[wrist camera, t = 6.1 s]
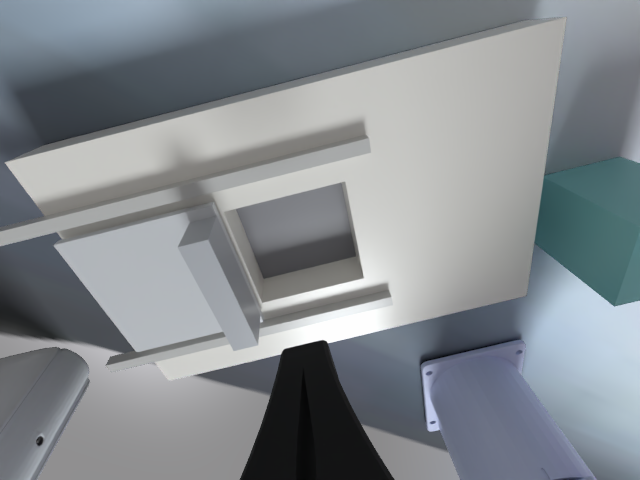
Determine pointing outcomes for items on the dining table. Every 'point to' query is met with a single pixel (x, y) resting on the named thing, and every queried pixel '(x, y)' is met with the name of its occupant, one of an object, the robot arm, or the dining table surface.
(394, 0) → the dining table surface
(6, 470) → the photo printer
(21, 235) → the socket plate
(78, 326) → the dining table surface
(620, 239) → the plug
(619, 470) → the dining table surface
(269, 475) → the robot arm
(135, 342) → the shutter
